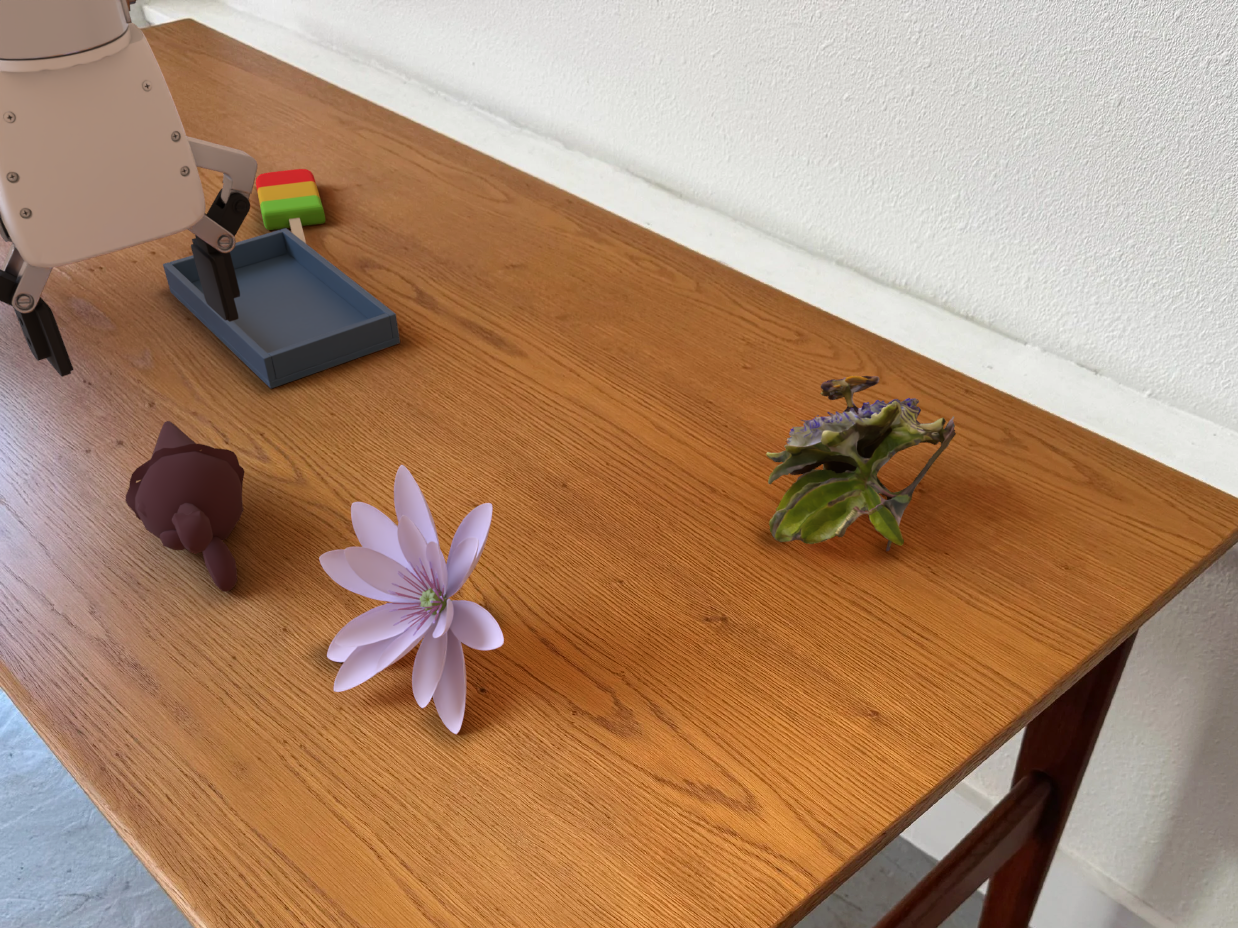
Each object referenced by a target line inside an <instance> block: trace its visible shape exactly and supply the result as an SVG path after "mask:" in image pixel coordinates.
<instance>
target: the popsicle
mask: <svg viewBox="0 0 1238 928" xmlns="http://www.w3.org/2000/svg"><path fill="white" fill-rule="evenodd" d="M255 188H256V193H257V197H258V203H259V207H260V213H261V216H262V217H261V218H262V222H263V226H264V228H265V229H266V230H267V231H277V230H281V229H284V228H287V229H290V232H292V233H293V234H294V235H296V236H297V237H298V238H299V239H301V240H302V241H303V242H305V243H306V244H307V241H306V238H305V233H304V230H303V227H307V226H308V227H309V226H316V225H322V224H325V223H326V214H325V210H324V206H323V203H322V199H321V197H320V192H319V189H318V186H317V183H316V178H315V176H314V174H313V172H312V171H311V170H309V169H308V168H307V169H306V168H293V169H286V170H278V171H269V172H264V173H261V174H258V175H257V177H255Z"/></svg>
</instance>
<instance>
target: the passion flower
mask: <svg viewBox="0 0 1238 928" xmlns="http://www.w3.org/2000/svg"><path fill="white" fill-rule="evenodd" d="M879 383H880V376H878V375H873V376H871V375H862V376H861V375H850V376H848V377H846V376H845V377H843V378H840V379H835V378H834V379H829V380H825V381H823V382H822V383H821V384H820V389H821V392H820V395H821V396H822V397H827V399H828V401H829V400H830V401H834V400H839V399H843V398H844V400H845V402H846V408H845V409H844V410H843V411H842V413H841V412H839V411H835V413H831V412H830V411H827V414H828V416H820V415H819V414H817V415H816V416H815V417H813V418H812V419H808V420H807V419H800V421H801V422H804V423H803V426H792V427H791V429H790V431H789V433H788V435H789V437H787V440H785V441H786V444H784V449H785V450H782V451H781V452H770V451H767V452H765V456H766V457H767V458H768V459H769V460H771V461H773V462H774V463H778V465H777V466H776V467H775V468H774V469H773V470H772V472H771V473H770V474H769V476H768V480H767V483H768V485H772V484H773V482H775V481H776V480H778V479H779V478H781V477H783V476H788V475H791V476H798V477H797V479H796V481H795V482H793V483H792V485H790V487H788V489H787V490H786V491H785V492H784V494H783V496H782V498H781V500H780V501H779V503H778V505H777V507H776V508H775V513H773V515H772V517H771V518H770V520H769V522H768V525H769V531H770V533H771V534H770V535H771V536H772V537H773V539H774V540H775V541H776V542H779V543H787V542H794V541H801V542H802V543H804V544H805V545H815V544H819V543H822V542H826V541H828V540H831V539H833V538H835V537H837V538H843V537H844V536H845V535H846V532H847V529H848V527H850V526H851V525H853V523H855V522H856V520H857V519H858V518H860V517H861V516H863V515H868V519H869V522H870V523H871V525H873V528H874V530H875V531H877V533H879V534H880V535H881V536H882V537H884V538H885V539H886V540H888V541H887V544H886V548H885V552H889V551H890V550H891V546H892V543H893V544H895V545H897V546H900V547H901V546H903V545H904V542H905V540H904V538H903V534H902V531H901V528H900V524H901V520H902V517H903V515H904V511H905V510H906V509H907V507H908V506H909V504H910V502H911V501H912V498H913V494H914V492H915V490H916V488H917V486H918V485H919V484H920V482H921V481H922V480H923V479H924V477H925V476H926V474H927V472H928V471H929V470H930V468H931V467H932V466H933V464H934V463H935V462H936V460H937V459H938V458H939V457H940V456H941V454H942V453H943V452H944V451H945V450H946V449H947V448H948V447H949V445H950V443H951V441H952V440H953V439H954V437H956V435H957V433H956V430H955V427H956V425H955V422H954V419H955V416H954V415H953V416H952V417H951V419H950V420H948V422H947V421H946V419H945V418H944V417H941V418H938V419H937V420H935V421H933V422H928V423H927V422H926V423H923V422H920V421H919V420H917V419H918V418H919V415H920V413H921V412H922V408H920V407H919V406H917V405H919V403H920V400H919V399H918V398H916V397H914V398H913V397H912V398H911V397H908V398H906V399H904V400H902V401H901V400H900V399H899V398H894V399H892V400H891V401H889V402H888V403H886V402H885V400H879V399H876V400H875V402H874V403H872V404H871V403H870V401H866V402H862V405H861V407H858V406H857V405H856V404H855V402H854V399H853V398H854V394H855V393H860V392H863V391H865V390H867V389H869V388H872V387H874V386H876V385H877V384H879ZM945 424H946V426H945ZM944 426H945V427H944ZM922 443H923V444H925V443H926V444H931V445H934V446H937V445H938V444H939V443H940V446H939V448H938V449H937V450H936V451H935V452H934V453H932V456H931V457H930V458H929V459H928V461H927V462H926V464H925V465H924V467H923V468H922V469H921V470H920V471H919V473H918V474H917V475H916V477H915V478H914V479H913V481H912V482H911V483H910V484H909V485H907V486H906V487H905V488H903V489H901V490H899V491H891V490H890V489H888V488H887V487H886V486H885V485H884V484H883V482H882V481H881V480H880V479H879V477H878V474H879V472H880V470H881V468H883V466H885V465H886V464H887V463H888V462H889V461H890V460H891V459H892V458H893V457H895V455H896V454H898V453H899V452H901V451H904V450H907V449H909V448H911V447H915V446H919V445H920V444H922ZM779 463H780V464H779ZM821 466H822V469H821V468H819V467H821ZM881 495H882V496H881ZM883 497H885V498H886V499H885V498H883Z"/></svg>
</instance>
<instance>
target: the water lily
mask: <svg viewBox="0 0 1238 928" xmlns="http://www.w3.org/2000/svg"><path fill="white" fill-rule="evenodd" d="M396 471H397V472H396V474H395V478H394V484H393V504H394V509H395V514H396V518H397V522H398V523H395V522H394V521H393V520H392V519H391V518H390V517H389V516H388V515H386V514H385V513H383V511H381V510H380V509H378V508H376V507H375V506H373V505H372V504H368V503H367V502H363V501H354V502H352V503H351V507H350V514H351V515H350V516H351V522H352V527H353V530H354V533H355V535H356V537H357V540H358V542H359V543H360V545H361V546H349V547H348V546H347V547H345V549H333V550H330V551H326V552H324V553H322V554H320V556H319V558H318V560H319V563H320V565H321V567H322V569H323V570H324V572H325V573H326V574H327V575H328V577H329V578H331V580H333V581H334V582H335V583H336V584H338V585H339V586H341V587H342V588H344V589H346V590H347V591H350V592H351V593H354V594H357V595H359V596H363V597H364V598H368V599H372V600H376V601H380V602H386V603H385V604H384V603H383V604H381V605H378V606H375V607H373V608H371V609H369V610H367V611H365V612H363V613H361V614H359V615H358V616H356V617H354V618H353V619H351V620H350V621H348V622H347V623H346V624H345V625H344V626H343V627H342V628H341V629H340V630H339V631H338V632H337V633H336V634H335V636H334V638H333V639H332V641H331V643H330V644H329V646H328V649H327V653H326V658H328V660H330V661H332V662H337V663H342V664H341V665H340V668H339V670H338V671H337V673H336V677H335V679H334V683H333V692H336V693H340V692H345V691H348V690H351V689H353V688H357V686H359V685H361V684H364V683H365V682H367V681H368V680H370V679H372V678H374V677H375V676H377V675H378V674H380V673H381V672H383V671H384V670H385V669H387V668H389V667H391V666H392V665H393V664H395V663H397V662H398V661H399V660H401V659H402V658H403V657H405V656H406V655H407V654H408V653H410V652H411V651H412V650H413V649H414V648H415V647H416V646H417V645H418V644H419V643H420V642H421V643H420V645H419V647H418V649H417V653H416V655H415V657H414V658H415V659H414V662H413V665H412V666H413V667H412V675H411V687H412V692H413V696H414V699H415V701H416V703H417V705H418V706H419V707H420V708H421V709H425V708H426V707H428V705H429V703H430V702H431V700H432V698H433V702H434V706H435V709H436V711H437V714H438V716H439V718H440V720H441V721H442V723H443V725H445V727H446V728H447V729H448V730H449V731H450V732H451V733H452V734H454V735H458V734H459V732H460V731H461V728H462V725H463V722H464V716H465V711H466V702H467V668H466V661H465V654H464V650H463V645H462V644H464V645H465V646H467V647H469V648H470V649H473V650H479V651H490V650H491V651H492V650H496V649H498V648H501V647H502V646H503V645H504V643H505V638H504V634H503V631H502V629H501V626H500V624H499V623H498V622H497V620H496V619H495V617H494V616H493V615H492V613H490V611H488V610H487V609H486V608H484V607H483V606H482V605H479V604H478V603H477V602H475V601H472V600H465V599H457V600H456V599H454V600H453V599H450V598H451V597H452V596H454V595H455V594H456V593H458V592H459V591H460V590H461V589H462V587H464V585H465V584H466V582H467V581H468V579H469V578H470V576H471V575H472V573H473V571H474V570H475V568H476V566H477V565H478V564H479V561H480V559H481V557H482V554H483V552H484V550H485V547H486V544H487V541H488V537H489V534H490V529H491V526H492V525H491V524H492V519H493V510H494V509H493V507H494V506H493V504H492V503H491V502H485V503H482V504H480V505H478V506H476V507H474V508H473V509H472V510H470V511H469V512H468V513H467V514H466V516H464V518H463V519H462V520H461V522H460V524H459V525H458V527H457V529H456V531H455V533H454V535H453V538H452V541H451V544H450V548H449V552H448V555H447V560H446V559H445V556H444V554H443V552H442V550H441V546H440V545H441V544H440V539H439V535H438V530H437V527H436V523H435V520H434V518H433V515H432V512H431V510H430V507H429V503H428V502H427V500H426V497H425V495H424V492H423V491H422V489H421V488H420V485H419V484H418V482H417V481H416V479H415V477H414V475H413V474H412V473H411V472H410V470H409V469H408V468H407V467H406V466H405V465H404V464H400V466H399V467H398V469H397V470H396Z"/></svg>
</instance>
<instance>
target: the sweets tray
mask: <svg viewBox="0 0 1238 928" xmlns="http://www.w3.org/2000/svg"><path fill="white" fill-rule="evenodd" d="M230 254H231V258H232V262H233V266H234V270H235V274H236V278H237V282H238V286H239V290H240V297H237V298H234V301H235V305H236V308H237V312H238V317H239V318H238V319H237V320H234V321H231V322H229V321H228V320H226V321H225V320H224V319H223V318H222V317H221V316H220V315H219V314H218V313H216V312H215V311H214V310H213V309H212V308H211V307H210V306H209V305H208V304H207V302H206V300H205V297H204V293H203V289H202V286H201V282H200V278H199V275H198V271H197V267H196V264H195V260H194V256H193V254H192V255H188V256H185V257H182V258H179V259H175V260H171V261H169V262H165V263H163V264H162V267H163V270H164V274H165V278H166V281H167V286H168V289H169V291H170V293H171V294H172V295H173V296H174V297H175V298H176V299H177V300H178V301H179V302H180V303H181V304H182V305H183V306H184V307H185V309H187V310H188V311H189V312H191V313H192V314H193V316H194V317H196V319H198V320H199V321H200V322H201V323H202V324H203V325H204V326H205V327H206V328H207V329H208V330H209V331H210V332H211V333H212V334H213V335H214V336H215V337H216V338H218V340H219V341H221V343H223V344H224V345H225V346H226V347H227V348H228V350H230V351H231V352H232V353H233V354H234V355H235V356H236V357H237V358H238V359H239V360H240V361H241V362H242V363H243V364H244V365H246V366H247V368H249V370H251V371H252V372H253V373H254V374H255V375H256V376H257V378H259V379H260V380H261V381H262V382H263V383H264V384H265V385H266V386H267V387H268V388H269V389H275V388H277V387H280V386H283V385H286V384H289V383H291V382H294V381H297V380H299V379H303V378H305V377H309V376H311V375H314V374H317V373H319V372H322V371H325V370H328V369H332V368H333V367H336V366H339V365H343V364H345V363H347V362H351V361H354V360H356V359H359V358H362V357H364V356H368V355H370V354H373V353H377V352H380V351H382V350H385V349H387V348H390V347H393V346H396V345H398V344H400V343H401V339H400V333H399V332H400V331H399V327H398V326H399V325H398V319H397V313H395V311H393V310H391V308H390V307H388V306H387V305H385V304H384V303H383V302H382V301H381V300H379V299H378V298H376V296H374V295H373V294H371V293H370V292H368V291H367V290H366V289H365V288H363V287H362V286H361V285H359V284H358V283H357V282H356V281H355V280H353V279H352V278H351V277H350V276H348V275H347V274H346V273H344V272H343V271H341V269H339V268H338V267H337V266H335V265H334V264H333V263H332V262H331V261H329V260H328V259H326V257H324V256H322V255H321V254H320V253H319V252H317V250H315V249H313V248H312V247H311V246H310V245H309V244H307V242H306V243H305V242H303V241H302V240H301V239H299V238H298V237H297V236H296V235H294V234H293V233H292V231H291V230H289V228H284V229H277V230H273V231H271V232H267V233H263V234H261V235H257V236H254V237H250V238H248V239H244V240H240V241H236V244H235V247H234V249H233V250H232V251H230Z"/></svg>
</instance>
